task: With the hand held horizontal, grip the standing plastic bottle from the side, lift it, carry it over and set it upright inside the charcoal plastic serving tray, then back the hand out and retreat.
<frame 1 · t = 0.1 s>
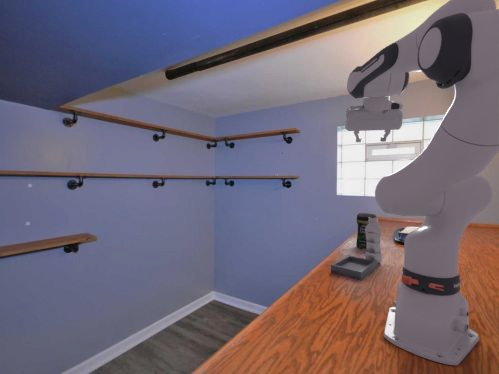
hand: (370, 141, 101), 52 cm above the worktop, tool tilted 20°, fingers open, 8 cm apart
coffee jar: (366, 248, 136), on the worktop
serving tray: (354, 270, 104), on the worktop
plastic bottle: (373, 263, 112), on the worktop
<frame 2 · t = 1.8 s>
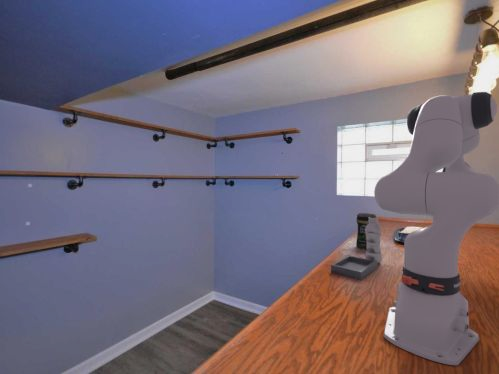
hand: (403, 203, 109), 26 cm above the worktop, tool horizontal, fingers open, 8 cm apart
nothing on the worktop moved.
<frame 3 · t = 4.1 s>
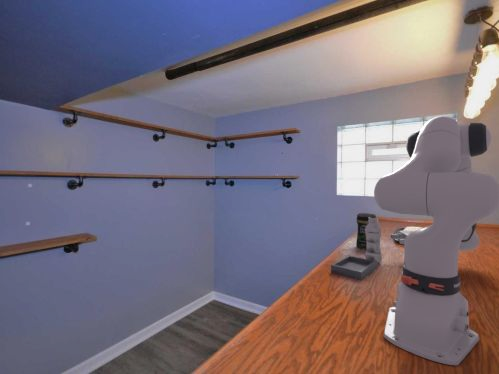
hand: (395, 238, 110), 11 cm above the worktop, tool horizontal, fingers open, 8 cm apart
nothing on the worktop moved.
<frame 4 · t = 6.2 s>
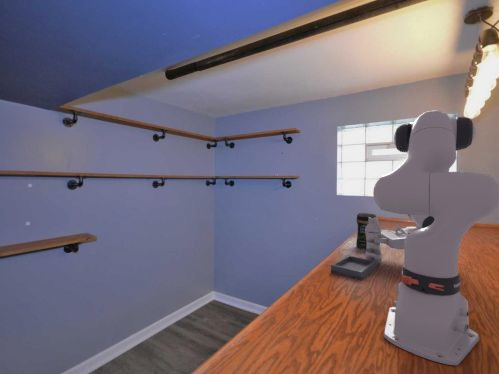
hand: (371, 237, 112), 11 cm above the worktop, tool horizontal, fingers closed on plastic bottle, 6 cm apart
plastic bottle: (373, 263, 112), on the worktop, touching gripper
everything else where it was.
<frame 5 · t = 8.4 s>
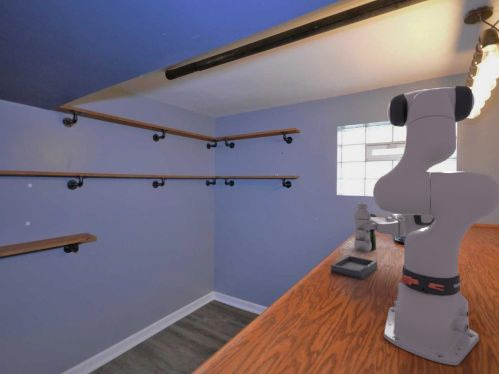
hand: (360, 224, 106), 18 cm above the worktop, tool horizontal, fingers closed on plastic bottle, 6 cm apart
plastic bottle: (362, 251, 107), point 7 cm above the worktop, touching gripper
everything else where it was.
when the fingers open (13 cm above the worktop, at t = 10.6 s): plastic bottle stays where it is, resting on serving tray.
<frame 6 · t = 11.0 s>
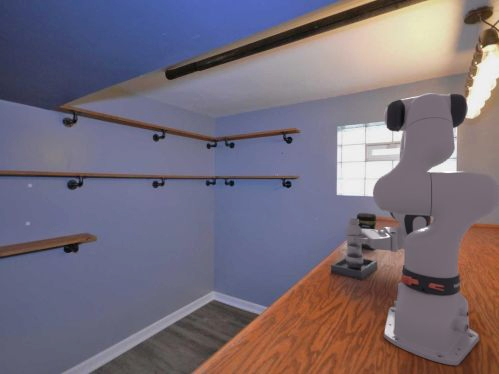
hand: (352, 237, 104), 13 cm above the worktop, tool horizontal, fingers open, 8 cm apart
plastic bottle: (354, 268, 104), point 1 cm above the worktop, touching serving tray
everything else where it was.
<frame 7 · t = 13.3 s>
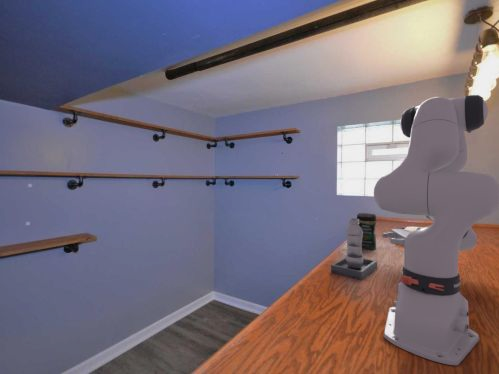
hand: (386, 238, 101), 14 cm above the worktop, tool horizontal, fingers open, 8 cm apart
nothing on the worktop moved.
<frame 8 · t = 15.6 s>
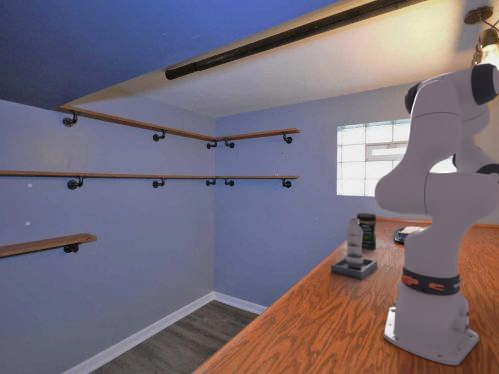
hand: (410, 191, 101), 32 cm above the worktop, tool horizontal, fingers open, 8 cm apart
nothing on the worktop moved.
at the end: plastic bottle inside the target area on the serving tray (0.0 cm from its centre), point 0.8 cm above the serving tray's base; plastic bottle tilted 0°; the gripper is holding nothing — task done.
